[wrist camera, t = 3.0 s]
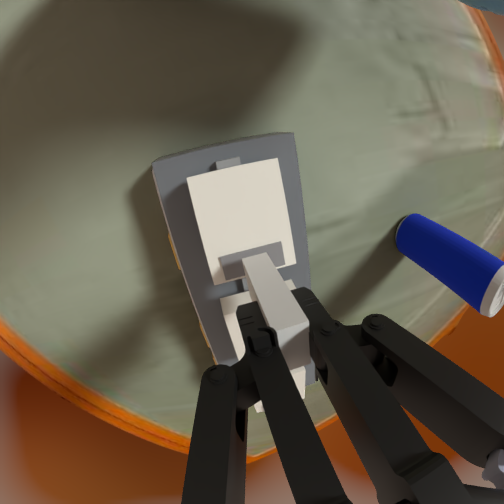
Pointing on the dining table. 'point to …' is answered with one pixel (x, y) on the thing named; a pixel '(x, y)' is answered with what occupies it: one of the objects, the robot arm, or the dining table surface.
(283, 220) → the plate
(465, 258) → the beverage can
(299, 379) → the rocker
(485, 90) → the dining table surface
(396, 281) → the dining table surface
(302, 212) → the switch console
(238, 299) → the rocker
